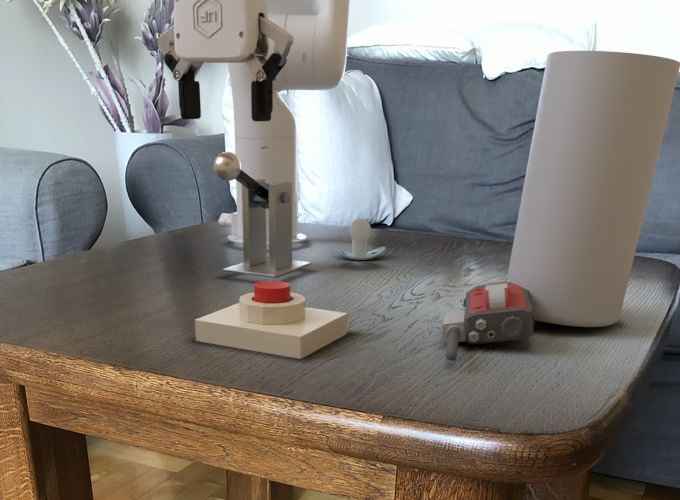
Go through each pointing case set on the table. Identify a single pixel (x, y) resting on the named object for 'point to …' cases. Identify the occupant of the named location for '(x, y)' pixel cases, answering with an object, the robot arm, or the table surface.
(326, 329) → the button housing
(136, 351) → the table surface
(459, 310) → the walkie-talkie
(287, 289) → the button
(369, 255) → the pacifier
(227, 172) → the switch lever
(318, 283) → the table surface
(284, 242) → the switch bracket
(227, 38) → the robot arm
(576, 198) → the cylinder vase
